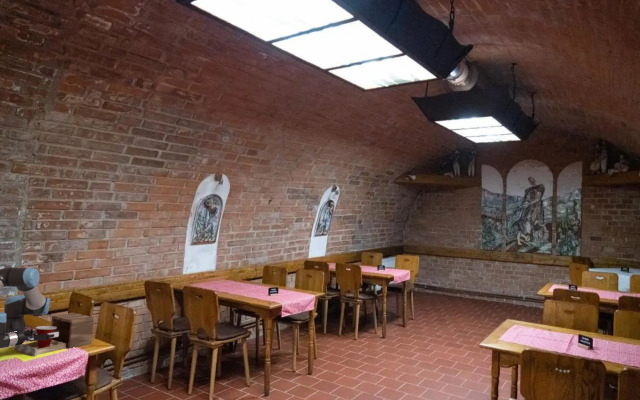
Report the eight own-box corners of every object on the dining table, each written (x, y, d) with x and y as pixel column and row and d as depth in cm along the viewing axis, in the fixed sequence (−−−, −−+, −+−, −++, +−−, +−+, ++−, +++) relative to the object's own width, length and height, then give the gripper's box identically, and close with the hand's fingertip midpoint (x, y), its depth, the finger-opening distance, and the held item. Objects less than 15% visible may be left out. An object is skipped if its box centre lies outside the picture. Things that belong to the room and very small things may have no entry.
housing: (49, 343, 283) (52, 315, 284) (71, 339, 296) (73, 312, 297) (69, 349, 274) (72, 320, 275) (91, 344, 287) (93, 317, 288)
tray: (14, 350, 264) (14, 343, 264) (47, 343, 281) (47, 336, 282) (34, 356, 255) (35, 349, 256) (67, 349, 273) (68, 342, 273)
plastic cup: (58, 345, 275) (60, 325, 276) (46, 350, 264) (48, 329, 265) (42, 344, 276) (44, 324, 277) (29, 348, 265) (31, 327, 266)
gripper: (0, 341, 260) (37, 335, 279) (27, 349, 249) (63, 342, 268) (2, 328, 260) (39, 322, 279) (28, 335, 249) (65, 329, 268)
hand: (51, 332), depth 273 cm, fingers open, 13 cm apart
